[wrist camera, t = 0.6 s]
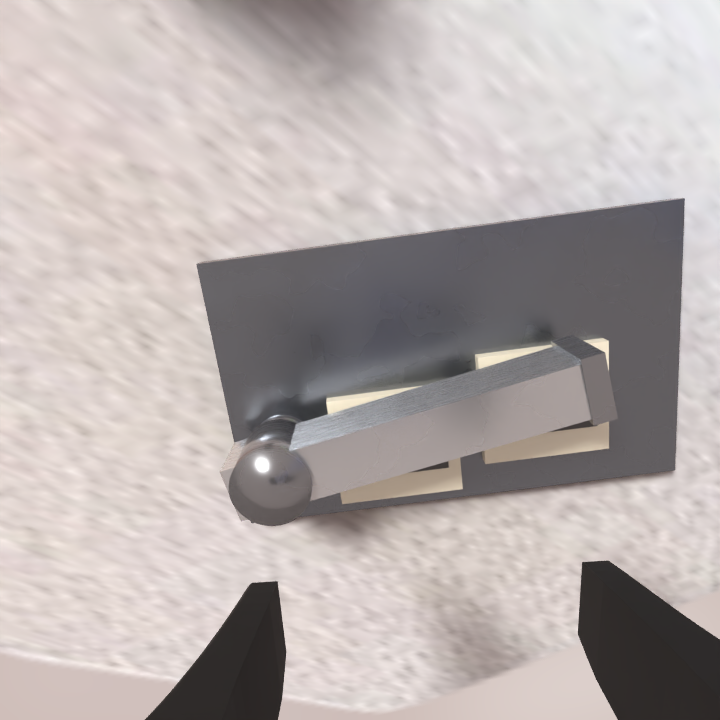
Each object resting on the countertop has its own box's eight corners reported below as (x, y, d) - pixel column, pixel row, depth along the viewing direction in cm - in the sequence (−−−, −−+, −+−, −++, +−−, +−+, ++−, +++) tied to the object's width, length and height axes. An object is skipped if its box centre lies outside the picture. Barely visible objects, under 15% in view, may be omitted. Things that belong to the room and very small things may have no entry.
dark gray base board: (671, 198, 20) (695, 197, 18) (663, 461, 23) (683, 477, 21) (202, 262, 20) (191, 265, 19) (254, 512, 23) (248, 531, 22)
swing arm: (257, 494, 21) (243, 536, 18) (231, 432, 20) (213, 466, 17) (585, 397, 20) (621, 426, 17) (571, 329, 19) (606, 348, 17)
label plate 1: (451, 381, 21) (454, 386, 20) (460, 482, 22) (463, 490, 21) (326, 398, 21) (325, 403, 20) (342, 498, 22) (342, 505, 21)
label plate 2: (602, 338, 20) (610, 341, 20) (603, 443, 22) (610, 449, 21) (474, 354, 20) (478, 358, 20) (482, 458, 22) (486, 465, 21)
